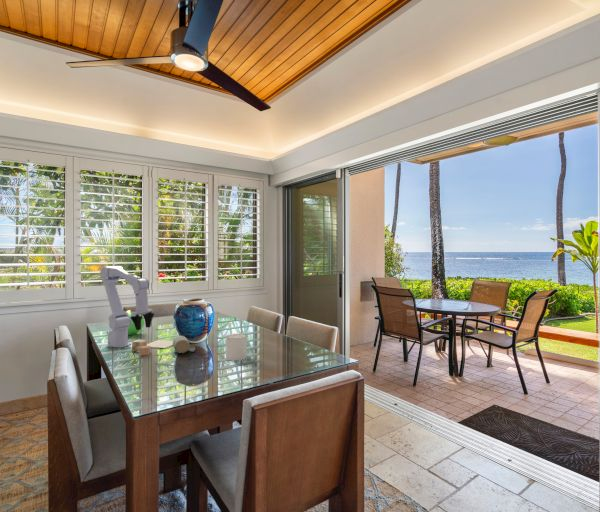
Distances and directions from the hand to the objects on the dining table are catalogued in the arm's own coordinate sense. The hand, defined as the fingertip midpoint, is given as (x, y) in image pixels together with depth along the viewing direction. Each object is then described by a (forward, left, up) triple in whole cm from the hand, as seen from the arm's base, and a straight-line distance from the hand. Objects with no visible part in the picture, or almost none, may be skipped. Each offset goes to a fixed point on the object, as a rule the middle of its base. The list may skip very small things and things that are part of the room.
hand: (143, 328), depth 187 cm
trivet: (+2, +13, -11) cm, 17 cm away
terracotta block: (+6, -6, -12) cm, 14 cm away
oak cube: (-2, 0, -12) cm, 12 cm away
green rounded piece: (-32, +28, -12) cm, 44 cm away
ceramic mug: (+21, +4, -12) cm, 24 cm away
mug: (+51, +3, -12) cm, 52 cm away
